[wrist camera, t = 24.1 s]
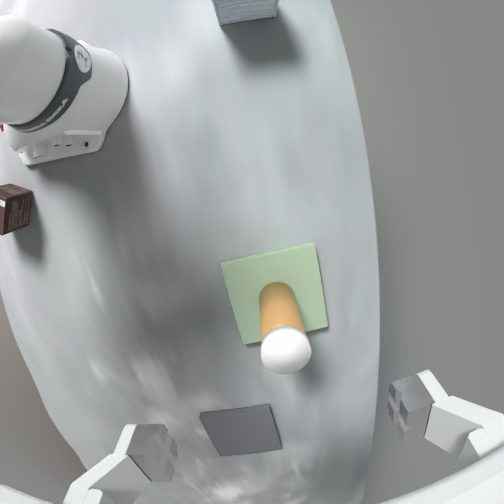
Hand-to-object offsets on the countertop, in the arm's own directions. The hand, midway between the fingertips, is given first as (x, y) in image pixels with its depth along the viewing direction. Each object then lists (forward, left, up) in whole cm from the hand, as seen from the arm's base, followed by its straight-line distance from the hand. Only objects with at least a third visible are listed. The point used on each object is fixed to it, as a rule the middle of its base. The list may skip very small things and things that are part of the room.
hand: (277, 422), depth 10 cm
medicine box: (+5, +30, -34) cm, 46 cm away
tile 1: (0, -11, -34) cm, 36 cm away
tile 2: (-12, -39, -34) cm, 53 cm away
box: (-38, +13, -34) cm, 53 cm away
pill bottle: (0, -11, -32) cm, 34 cm away
